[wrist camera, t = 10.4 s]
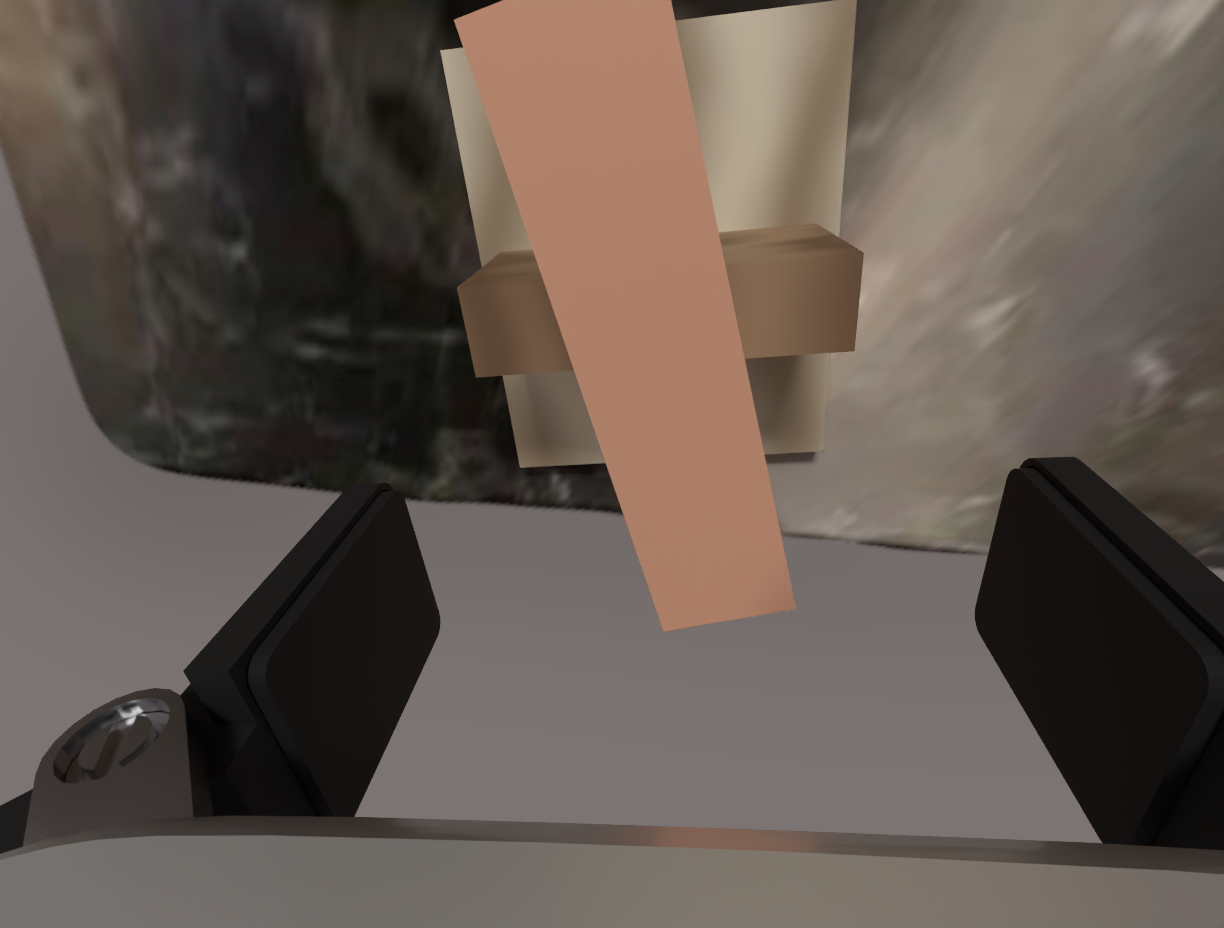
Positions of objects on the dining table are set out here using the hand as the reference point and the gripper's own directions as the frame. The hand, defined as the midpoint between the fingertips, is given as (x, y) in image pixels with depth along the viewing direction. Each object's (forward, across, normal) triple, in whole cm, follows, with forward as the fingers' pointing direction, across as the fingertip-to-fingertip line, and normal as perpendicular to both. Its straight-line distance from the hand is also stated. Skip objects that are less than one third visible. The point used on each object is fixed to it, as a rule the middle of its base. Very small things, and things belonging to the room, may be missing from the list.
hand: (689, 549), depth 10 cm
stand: (+22, +1, 0) cm, 22 cm away
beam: (+14, +1, 0) cm, 14 cm away
